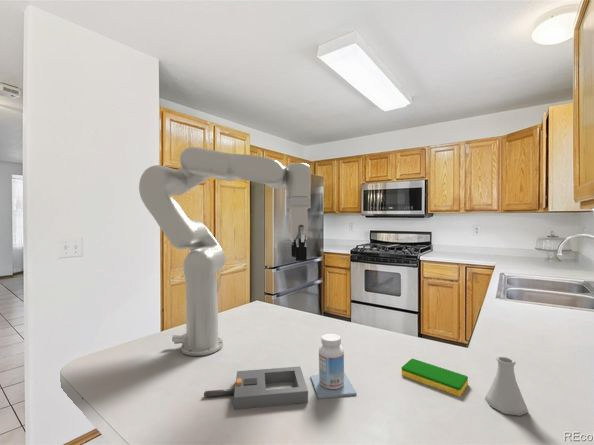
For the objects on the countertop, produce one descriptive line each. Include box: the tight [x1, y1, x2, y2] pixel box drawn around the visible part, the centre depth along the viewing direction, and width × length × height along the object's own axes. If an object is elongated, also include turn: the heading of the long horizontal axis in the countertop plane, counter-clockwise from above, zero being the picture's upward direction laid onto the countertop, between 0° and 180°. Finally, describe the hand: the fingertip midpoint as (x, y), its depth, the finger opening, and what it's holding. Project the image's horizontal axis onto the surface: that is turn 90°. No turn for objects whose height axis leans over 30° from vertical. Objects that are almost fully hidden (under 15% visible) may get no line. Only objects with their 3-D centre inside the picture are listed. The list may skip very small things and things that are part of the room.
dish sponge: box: [400, 358, 469, 397], centre depth 73 cm, size 7×14×2 cm, turn 46°
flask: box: [484, 356, 529, 417], centre depth 63 cm, size 7×7×10 cm
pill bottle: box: [318, 333, 345, 389], centre depth 71 cm, size 6×6×11 cm
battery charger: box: [203, 365, 309, 410], centre depth 68 cm, size 23×11×3 cm, turn 98°
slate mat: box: [310, 372, 358, 399], centre depth 71 cm, size 9×9×1 cm
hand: (298, 258), depth 90 cm, fingers open, 9 cm apart
